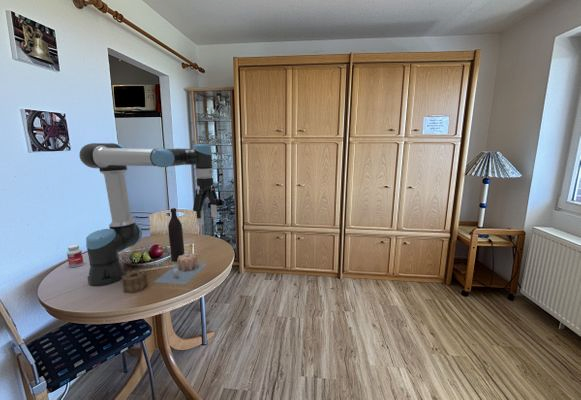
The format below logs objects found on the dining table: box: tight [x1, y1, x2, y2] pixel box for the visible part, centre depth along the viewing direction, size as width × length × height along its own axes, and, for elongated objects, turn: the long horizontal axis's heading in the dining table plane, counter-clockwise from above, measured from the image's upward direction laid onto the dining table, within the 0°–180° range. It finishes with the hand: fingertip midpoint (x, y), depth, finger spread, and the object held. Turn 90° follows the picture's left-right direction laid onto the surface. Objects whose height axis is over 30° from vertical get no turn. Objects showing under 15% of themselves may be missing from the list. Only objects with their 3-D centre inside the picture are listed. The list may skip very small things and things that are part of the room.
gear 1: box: [121, 270, 149, 294], centre depth 120 cm, size 10×10×6 cm
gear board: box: [153, 262, 207, 285], centre depth 133 cm, size 16×22×5 cm
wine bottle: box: [167, 207, 185, 263], centre depth 147 cm, size 7×7×30 cm
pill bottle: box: [66, 244, 84, 268], centre depth 143 cm, size 6×6×11 cm
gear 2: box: [177, 252, 198, 271], centre depth 138 cm, size 10×10×7 cm
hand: (207, 220), depth 130 cm, fingers open, 13 cm apart
